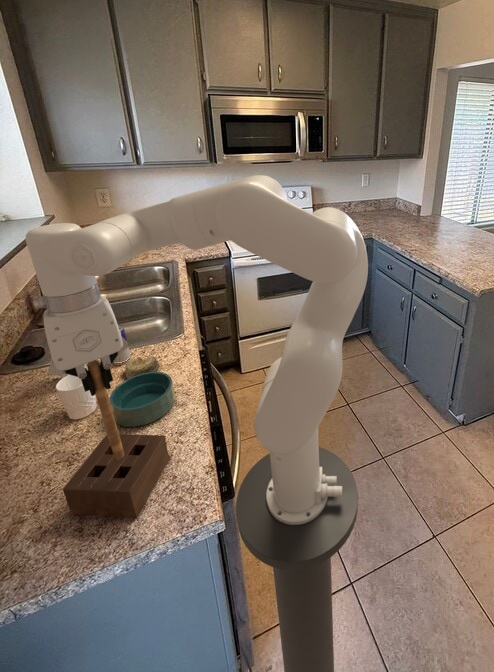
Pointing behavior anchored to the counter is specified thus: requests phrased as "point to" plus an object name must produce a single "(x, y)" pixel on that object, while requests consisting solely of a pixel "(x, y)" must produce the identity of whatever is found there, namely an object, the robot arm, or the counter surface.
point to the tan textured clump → (141, 366)
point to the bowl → (142, 399)
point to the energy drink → (124, 354)
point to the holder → (117, 477)
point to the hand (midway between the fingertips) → (99, 388)
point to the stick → (106, 409)
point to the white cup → (75, 397)
